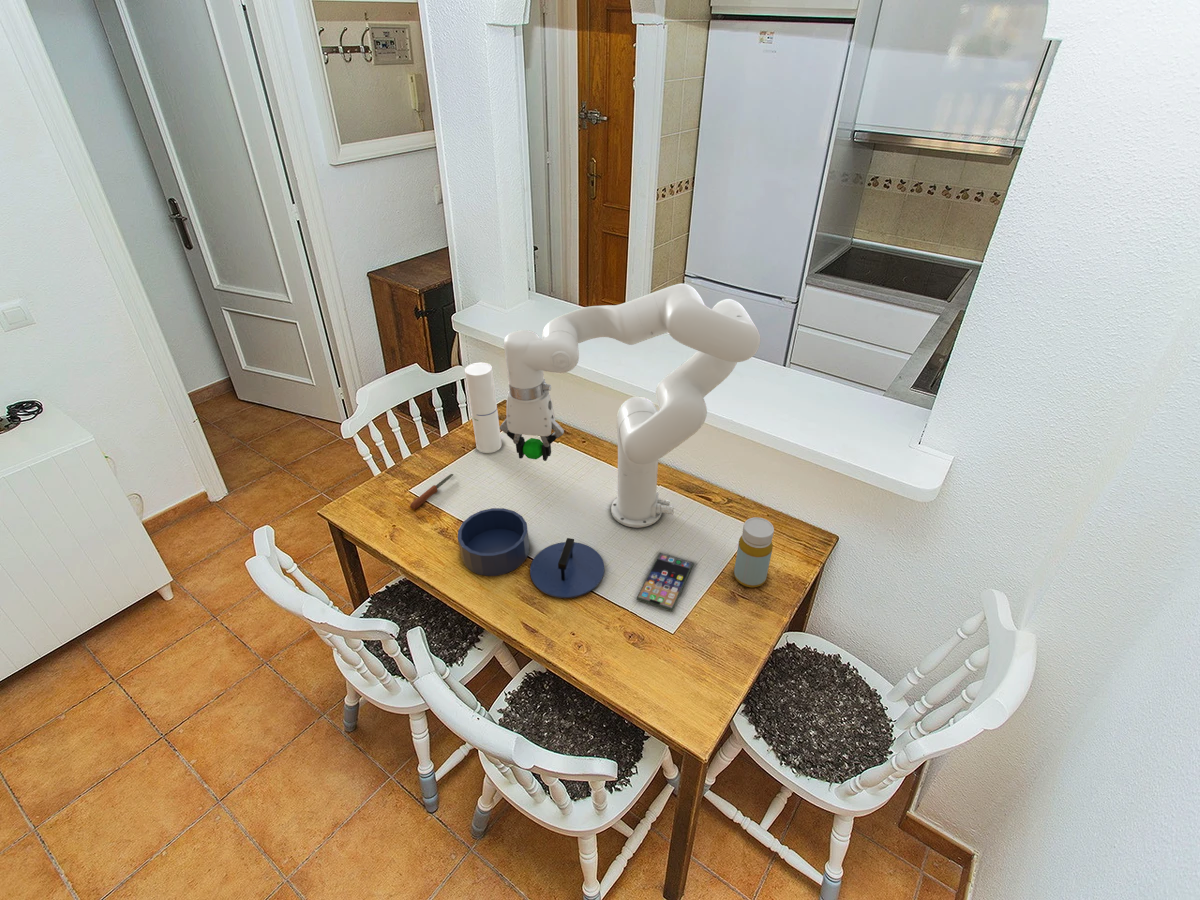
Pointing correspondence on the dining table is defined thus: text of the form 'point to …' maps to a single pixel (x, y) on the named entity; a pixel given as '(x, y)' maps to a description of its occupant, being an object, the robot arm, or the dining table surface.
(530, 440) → the polyhedron
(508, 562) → the pot
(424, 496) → the kitchen knife
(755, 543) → the bottle
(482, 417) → the cylindrical container
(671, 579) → the smartphone
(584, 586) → the lid
